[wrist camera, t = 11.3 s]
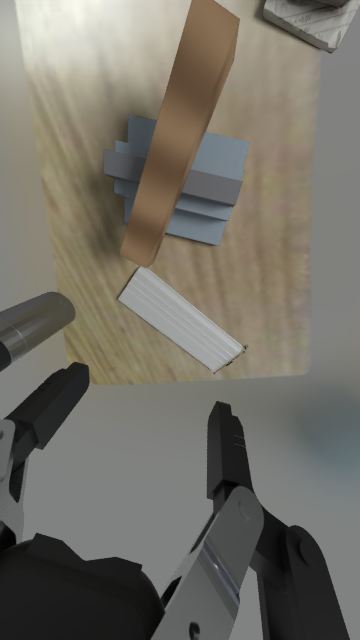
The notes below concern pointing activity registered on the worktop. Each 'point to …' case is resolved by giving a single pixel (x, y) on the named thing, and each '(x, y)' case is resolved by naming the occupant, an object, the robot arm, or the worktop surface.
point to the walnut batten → (181, 124)
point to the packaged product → (313, 19)
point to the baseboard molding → (178, 319)
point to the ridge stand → (200, 187)
